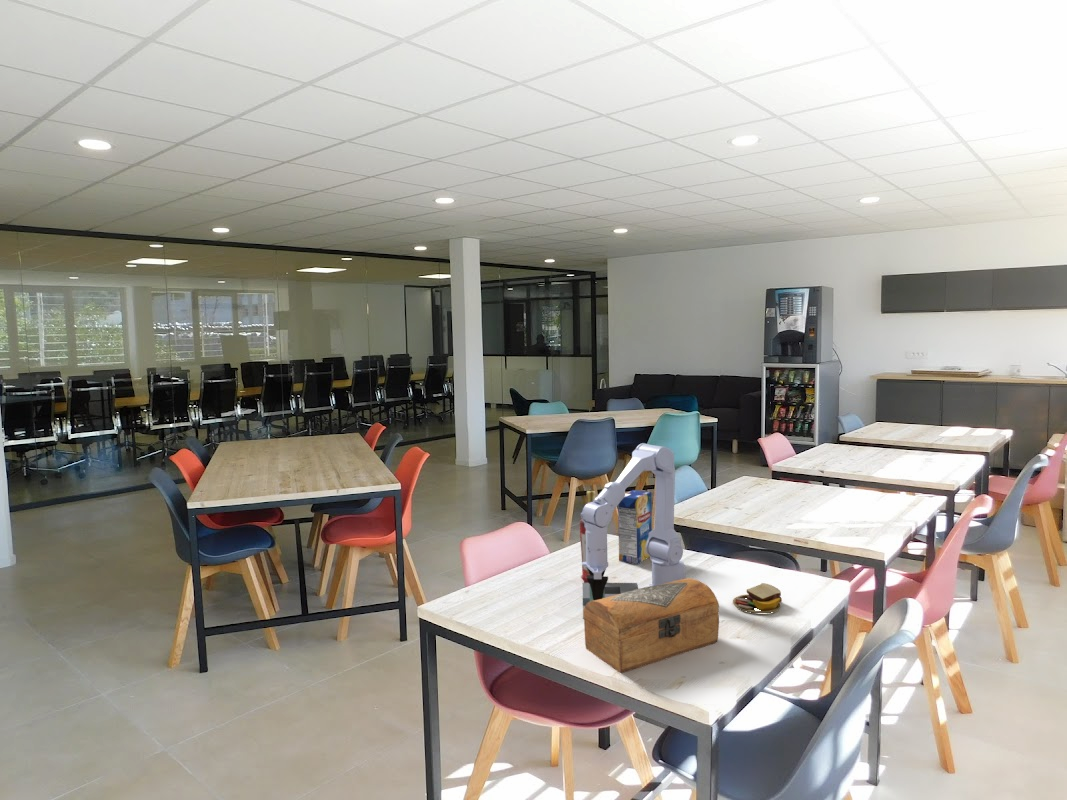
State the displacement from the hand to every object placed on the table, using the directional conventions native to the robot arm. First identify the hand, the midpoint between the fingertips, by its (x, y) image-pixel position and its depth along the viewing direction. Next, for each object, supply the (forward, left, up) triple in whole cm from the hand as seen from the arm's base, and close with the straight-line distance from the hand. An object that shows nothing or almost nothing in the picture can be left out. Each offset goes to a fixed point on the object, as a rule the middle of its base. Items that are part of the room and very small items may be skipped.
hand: (597, 595), depth 187 cm
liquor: (+1, -24, -5) cm, 25 cm away
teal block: (0, 0, -4) cm, 4 cm away
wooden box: (-13, +20, -5) cm, 24 cm away
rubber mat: (0, 0, -5) cm, 5 cm away
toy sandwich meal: (-44, -6, -5) cm, 45 cm away
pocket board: (-4, -10, -5) cm, 12 cm away
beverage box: (-14, -46, -5) cm, 48 cm away
